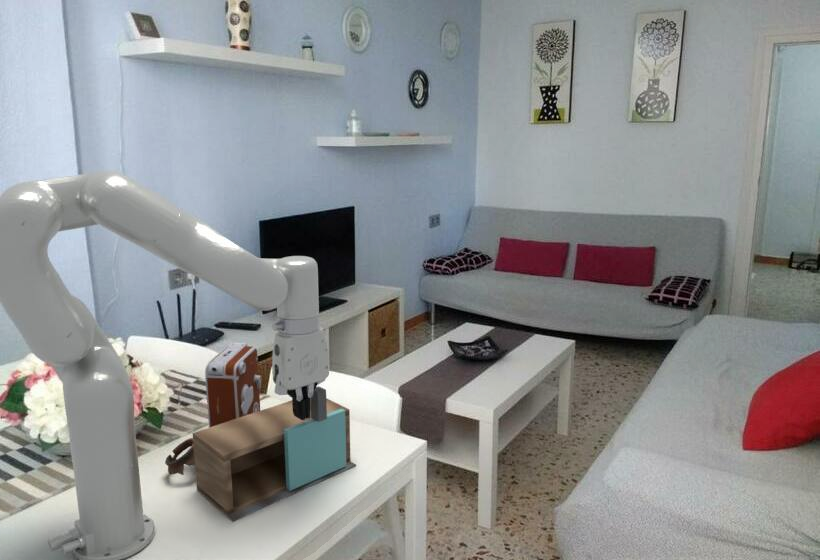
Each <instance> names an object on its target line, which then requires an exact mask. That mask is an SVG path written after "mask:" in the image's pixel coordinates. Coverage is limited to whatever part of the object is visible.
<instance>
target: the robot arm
mask: <svg viewBox="0 0 820 560" xmlns="http://www.w3.org/2000/svg"><path fill="white" fill-rule="evenodd" d="M97 225H100V226H101V227H103V228H105V229H107V230H108V231H110V232H112V233H113V234H116V235H118V236H119V237H121V238H123V239H125V240H126V241H129V242H131V243H133V244H134V245H136V246H138V247H140V248H142V249H144V250H146V251H148V252H149V253H151V254H153V255H155V256H156V257H158V258H160V259H161V260H163V261H165V262H167V263H169V264H170V265H173V266H174V267H175V268H178V269H180V270H181V271H183V272H185V273H187V274H190V275H192V276H195V277H197V278H198V279H200V280H202V281H204V282H206V283H208V284H209V285H211V286H213V287H214V288H216V289H218V290H220V291H222V292H224V293H226V294H228V295H229V296H232V297H233V298H235V299H237V300H238V301H241V302H242V303H244V304H245V305H248V306H249V307H251V308H253V309H256V310H257V311H265V312H266V311H273V310H274V309H276V310H277V311H276V312H277V314H276V315H277V316H276V322H274V323H272V324H271V327H272V330H273V331H277V332H276V333H275V334H274V339H273V346H272V357H271V358H272V362H271V363H272V365H271V367H272V368H271V370H272V371H271V374H272V380H273V383H274V384H275V385H274V393H275V394H276V395H277V396H287V395H288V396H289V397H290V398H291V400H292V406H293V414H294V416H295V417H297V418H299V419H301V420H305V419H306V418H307V419H308V418H310V410H311V405H310V398H311V397H312V396H313V391H314V390H315V388H316V387H318V386H319V385H320V384H322V383H324V382H325V381H326V379H327V378H328V377H329V375H330V357H329V349H328V344H327V339H326V335H325V330H324V327H321V326H320V311H319V310H320V305H319V304H320V301H319V300H320V299H319V298H320V297H319V268H318V262H317V261H316V260H315V258H313V257H310V256H306V255H291V256H285V257H282V258H261V257H258V256H256V255H254V254H252V252H250V251H247V250H246V249H245V248H243V247H241V246H239V245H238V244H236V243H235V242H233V241H231V240H230V239H228V238H226V237H225V236H224V235H222V234H221V233H219V232H218V231H216V229H214V228H212V226H210V225H208V224H207V223H206V222H204V221H202V220H201V219H199V218H198V217H196V216H194V215H193V214H191V213H190V212H188V211H186V210H184V209H182V208H181V207H179V206H178V205H176V204H174V203H173V202H171V201H169V200H167V199H166V198H164V197H162V196H161V195H159V194H157V193H156V192H154V191H153V190H151V189H149V188H147V187H146V186H144V185H143V184H141V183H140V182H138V181H136V180H135V179H132V178H131V177H129V176H127V175H125V174H122V173H121V172H117V171H113V170H101V171H96V172H94V171H93V172H88V173H83V174H76V175H70V176H69V175H68V176H64V177H63V176H62V177H55V178H46V179H38V180H32V181H31V180H30V181H25V182H19V183H16V184H13V185H12V186H9V187H8V188H7V189H5V190H4V191H3V193H1V194H0V305H1V307H2V309H3V310H4V312H5V313H6V314H7V316H8V318H9V319H10V321H11V322H12V323H13V325H14V327H16V329H17V331H18V332H19V334H20V335H21V336H22V338H23V340H24V341H25V344H26V345H27V347H28V348H29V350H30V351H31V353H32V354H33V355H34V356H35V357H36V358H37V359H39V360H40V361H41V362H43V363H45V364H48V365H49V366H50V367H51V368H52V369H53V371H54V372H55V374H56V375H57V377H58V379H59V380H60V381H61V383H62V392H63V402H64V410H65V415H66V416H65V417H66V422H67V429H68V438H69V446H70V456H71V461H72V463H71V464H72V468H73V477H74V478H73V479H74V484H75V485H74V486H75V492H76V494H75V495H76V499H77V500H76V501H77V507H78V510H77V511H78V518H79V519H76V520H75V521H74V528H71V529H70V528H69V530H68V531H69V532H66V533H63V534H60V535H58V536H55V537H51V538H49V539H48V540H47V543H48V548H49V550H50V552H55V551H57V550H59V549H61V550H62V551H61V552H62V553H63V555H65V554H67V553H70V552H72V553H73V555H74V557H75V558H76V559H78V560H123V559H127V558H128V557H131V556H133V555H135V554H137V553H139V552H140V551H142V550H143V549H144V548H145V547H147V546H148V545H149V543H151V542H152V540H153V539H154V536H155V534H156V528H155V527H156V526H155V522H154V520H153V519H152V518H151V517H149V516H147V515H146V514H144V507H143V500H142V499H143V498H142V488H141V476H140V469H139V468H140V467H139V457H138V448H137V437H136V436H137V435H136V426H135V425H136V424H135V397H134V395H135V394H134V389H133V385H132V382H131V379H130V376H129V375H128V372H127V370H126V368H125V365H124V363H123V361H122V359H121V358H120V355H119V354H118V352H117V351H116V350H115V347H114V346H113V344H112V343H111V342H110V341H109V339H108V337H107V335H106V334H105V332H104V331H103V330H102V329H103V328H102V327H101V326H100V324H99V323H98V321H97V320H96V318H95V316H94V315H93V313H92V312H91V310H90V309H89V307H88V306H87V305H86V304H85V303H84V302H83V301H82V299H80V298H79V297H77V296H75V295H73V294H71V292H70V291H69V289H68V287H66V284H65V283H64V281H63V280H62V277H61V275H60V274H59V272H58V271H57V270H56V268H55V267H54V265H53V263H52V262H51V260H50V258H49V254H48V251H49V249H48V248H49V244H50V243H51V241H52V240H53V238H55V236H56V235H57V234H58V233H59V232H65V231H71V230H77V229H81V228H83V229H84V228H88V227H92V226H97Z"/></svg>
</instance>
